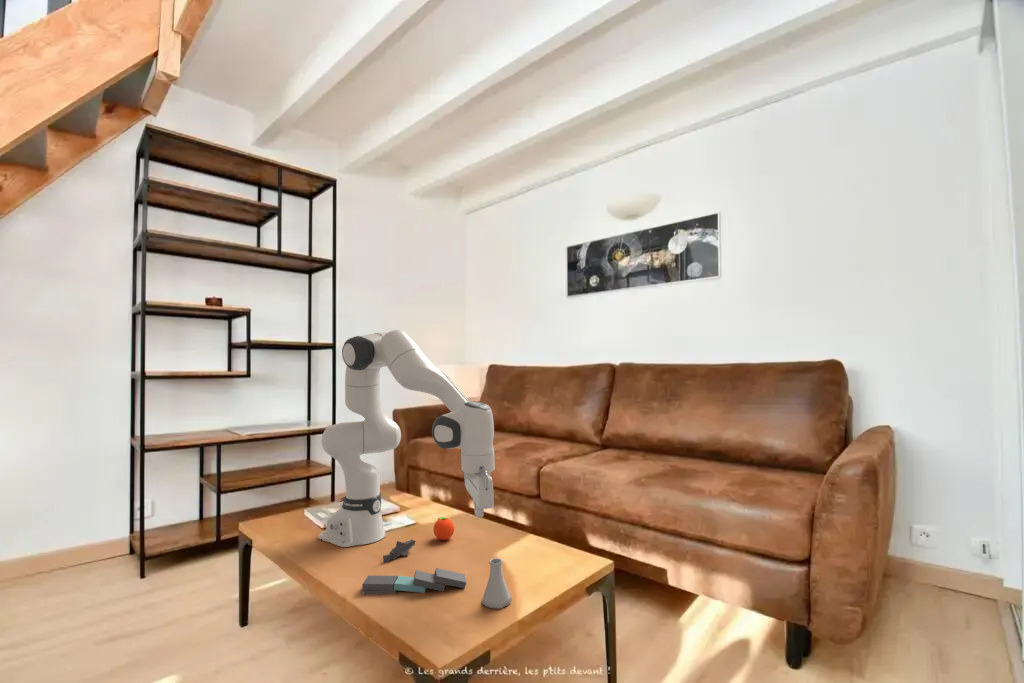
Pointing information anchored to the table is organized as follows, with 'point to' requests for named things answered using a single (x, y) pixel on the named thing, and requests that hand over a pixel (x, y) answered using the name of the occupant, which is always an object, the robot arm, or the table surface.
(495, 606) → the flask
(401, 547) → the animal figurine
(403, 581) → the domino
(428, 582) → the domino
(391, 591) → the domino
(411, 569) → the table surface
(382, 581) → the domino
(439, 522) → the clementine
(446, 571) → the domino
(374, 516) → the robot arm
